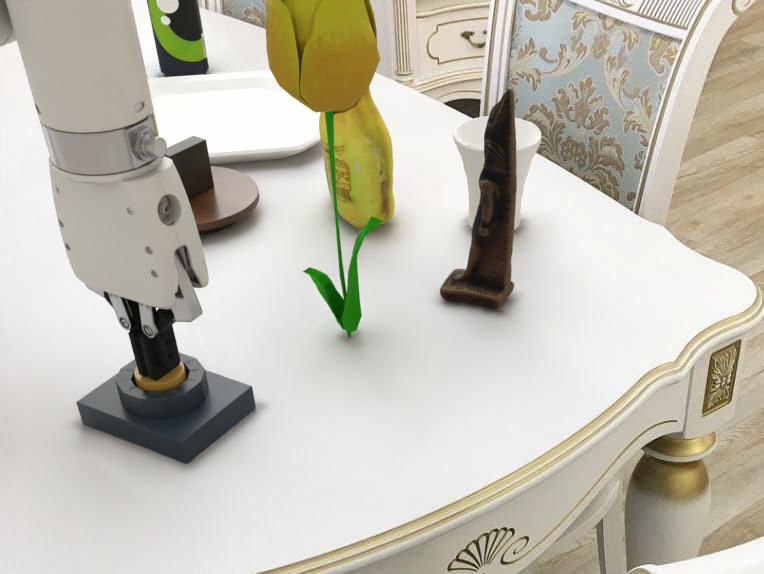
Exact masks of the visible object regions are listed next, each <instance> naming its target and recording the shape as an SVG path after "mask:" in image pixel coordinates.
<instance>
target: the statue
mask: <svg viewBox="0 0 764 574" xmlns="http://www.w3.org/2000/svg"><path fill="white" fill-rule="evenodd" d="M488 116H489V118H488V121H487V126H486V129H485V133H484V158H485V161H484V166H483V169H482V171H481V174H480V177H479V188H480V201H479V205H478V209H477V213H476V216H475V219H474V223H473V227H472V228H471V243H470V248H469V251H468V252H469V253H468V258H467V264H466V268H465V269H464V268H455V269H453V270H452V271H451V272H450V274H449V275H448V276H447V278H445V280H444V281H443V283H442V284H441V286H440V288H439V294H440V296H441V298H442V299H443V300H444V301H446V302H452V303H453V302H455V303H462V304H467V305H472V306H477V307H482V308H486V309H490V310H499V309H500V308H501V307H502V306H503V305H504V304H505V302H506V301H507V299H509V297H510V296H511V294H512V292H513V291H514V288H515V283H514V282H513V280H512V258H513V253H514V252H513V251H514V250H513V249H514V248H513V247H514V246H513V245H514V237H515V230H514V221H515V206H516V190H517V177H516V130H515V118H516V116H515V93H514V89H512V88H509V89H507V90H506V91H505V92H504V93H503V94H502V96H501V97H500V100H499V101H498V102H496V103H495V104H494V105H493V106H492V108H491V109H490V112H489V114H488Z"/></svg>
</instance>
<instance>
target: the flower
mask: <svg viewBox="0 0 764 574" xmlns="http://www.w3.org/2000/svg"><path fill="white" fill-rule="evenodd" d="M265 13H266V14H265V45H266V55H267V62H268V67H269V70H271V72H272V74H273V76H274V78H275V79H276V81H277V83H278V84H279V86H280V87H281V88H282V89H284V90H285V91H286V92H287V93H288V94H290V95H291V96H292V97H293V98H295V99H296V100H298V101H299V102H301V103H302V104H304V105H305V106H306V107H308V108H309V109H311V110H312V111H314V112H316V113H318V112H325V119H326V128H327V138H328V148H329V157H330V167H331V178H332V189H333V200H334V205H333V211H334V220H335V221H334V222H335V235H336V249H337V259H338V260H337V261H338V272H339V280H340V285H341V291H342V292H341V293H342V295H341V293H339V291H338V290H337V288H336V286H335V284H334V283H333V281H332V280H331V278H330V277H329V275H328V274H326V273H325V272H323V271H321V270H320V269H317V268H314V267H308V268H306V269H304V270H303V271H302V273H305V274H307V275H309V277H310V279H311V280H312V282H313V284H314V285H315V287H316V289H317V291H318V293H319V294H320V295H321V297H322V298H323V300H324V301H325V303H326V305H327V306H328V308H329V309H330V311H331V313H332V314H333V316H334V319H335V321H336V323H337V324H338V325H339V326H340V328H341V329H342V330H344V331H345V332H346V334H347V338H352V333H353V332H356V331H357V329H358V328H359V325H360V322H361V320H362V317H363V314H362V305H361V297H360V295H361V294H360V282H359V271H358V255H359V252H360V250H361V248H362V244H363V242H364V239H365V237H367V236H368V235H369V234H370V233H372V232H373V231H374V230H375V229H377V227H379V226H381V225H382V224H381V223H382V222H383V221H382V220H380V219H377V218H374V217H371V218H370V219H369V221H368V222H367V224H366V225H365V226H364V227H363V229H362V228H361V229H360V231H359V232H358V233H357V235H356V237H355V241H354V244H353V249H352V254H351V258H350V262H349V265H348V266H349V267H348V270H347V284H346V279H345V278H346V277H345V270H344V264H343V254H342V244H341V243H342V241H341V232H340V223H339V222H340V221H339V212H338V210H337V196H336V177H335V158H334V114H340V113H345V112H346V111H348V110H350V109H352V108H354V107H356V105H357V103H358V102H359V100H360V99H361V97H363V96H364V95H365V93H366V91H367V90H368V88H370V86H371V84H372V81H373V79H374V77H375V74H376V71H377V68H378V66H379V64H380V61H381V55H380V52H379V49H378V35H377V33H378V31H377V25H376V18H375V12H374V10H373V6H372V3H371V1H370V0H266V12H265ZM380 224H381V225H380ZM378 225H379V226H378Z"/></svg>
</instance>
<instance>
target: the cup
mask: <svg viewBox="0 0 764 574" xmlns="http://www.w3.org/2000/svg"><path fill="white" fill-rule="evenodd" d="M488 118H489V115H486V116H479V117H474V118H471V119H467V120H465V121H463V122H461V123H459V124H458V126H456V127H455V128H454V130H453V132H452V138H453V141H454V144H455V147H456V148H457V151H458V153H459V155H460V157H461V161H462V164H463V169H464V173H465V176H466V181H467V189H468V190H467V191H468V217H467V218H468V219H467V222H468V226H470V229H472V227H473V223H474V219H475V216H476V213H477V209H478V205H479V201H480V188H479V177H480V174H481V171H482V169H483V166H484V161H485V158H484V133H485V129H486V126H487V121H488ZM515 130H516V177H517V190H516V206H515V221H514V231H516V230H517V229H518V228H519V226H520V224H521V209H522V199H523V193H524V188H525V182H526V179H527V177H528V174H529V171H530V167H531V164H532V161H533V158H534V157H535V155H536V153H537V151H538V149H539V148H540V145H541V143H542V132H541V130H540V128H539V127H538V126H537V125H536V124H535V123H533V122H532V121H530V120H529V121H528V120H525V119H522V118H519V117H515Z"/></svg>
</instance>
